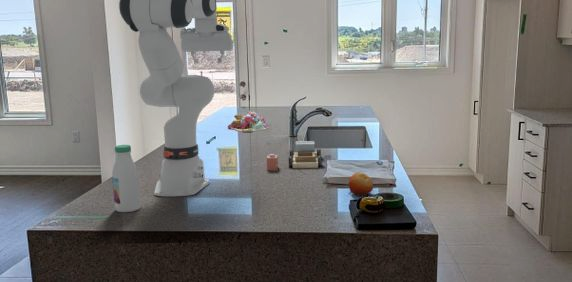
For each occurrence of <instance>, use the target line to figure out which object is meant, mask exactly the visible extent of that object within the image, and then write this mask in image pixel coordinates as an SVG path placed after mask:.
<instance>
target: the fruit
mask: <svg viewBox="0 0 572 282" xmlns="http://www.w3.org/2000/svg"><path fill="white" fill-rule="evenodd" d="M348 188H349V192H348V195H349V194H353V195H355V196H358V195H359V197H365V196H366V195H368V194H370V193H371V192H372V191H373V189H374V183H373V180H372V178H370V176H368V175H367V174H365V173H361V172H356V173H354V174H352V175H351V176H350V178H349V180H348Z"/></svg>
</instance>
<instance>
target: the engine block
mask: <svg viewBox="0 0 572 282" xmlns="http://www.w3.org/2000/svg"><path fill="white" fill-rule="evenodd" d="M278 167H279V158H278V154H274V153H269V154H268V155H266V171H278V169H279V168H278Z"/></svg>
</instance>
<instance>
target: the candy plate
mask: <svg viewBox="0 0 572 282" xmlns="http://www.w3.org/2000/svg"><path fill="white" fill-rule="evenodd" d="M233 117H234V118H235V120H232V122H231V123H230V124H228V126H227V129H229V130H234V131H236V132H241V133H242V132H247V133H248V132H249V133H250V132H258V131H264V130H267V129H269V126H268V125H267V123H266V120H265V117H264V116H262V115H261V114H258V113H256V111H251V110H248V111H247V113H246V114H245V115H243V114H238V113H237V114H236V113H235V115H233Z"/></svg>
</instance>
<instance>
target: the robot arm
mask: <svg viewBox="0 0 572 282" xmlns="http://www.w3.org/2000/svg"><path fill="white" fill-rule="evenodd" d="M118 4H119V6H118V8H119V14H120V16H121V18H122V19H123V21H124V22H125V24H127V26H129V28H130V30H132V31H133V32H135V33H139V36H138V42H137V43H138V47H139V52H140V55H141V58H142V60H143V62H144V64H145V66H146V68H147V70H148V72H149V76H147V77H145V78H144V79H143V81H141V84H140V87H139V94H140V98H141V99H142V101H143V102H144V104H145V105H147V106H152V107H157V108H176V107H177V108H178V114H175V115H174V116H173V117H171V118H169V119H168V120H166V122H165V123H164V126H163V132H164V133H163V135H164V136H163V137H164V146H163V152H162V156H163V158H164V159H163V160H161V169H160V173H159V180H157V181H156V185H155V189H154V192H153V194H154V196H159V197H186V196H192V195H195V194H197V193H198V192H200V191H201V190H202V189H204V188H205V187H206V186H208V185H209V184H210V182H211V181H210V179H207V178H205V177H206V175H205V168H204V166H205V165H204V160H203V159H202V158H200V156H199V154H200V153H199V145H198V143H197V124H198V119H199V116H200V114H201V112H202V111H203V110H204V109H205V108H206V107H207V106H208V105H209V104H210V103H211V102H212V101H213V99H214V97H215V86H214V84H213V81H212V80H211V79H210V77H208V76H203V75H197V74H183V73H184V71H185V66H184V65H185V64H184V62H183V60H182V56H181V54H180V52H179V50H178V47H177V44H176V43H175V41H174V39H173V38H172V36H171V35H170V33H169V32H168V30H167V29H168V28H170V29H172V28H176V29H181V28H183V29H181V30H180V36H179V37H180V39H181V42H180V43H181V51H182V52H183V53H190V56H191V58H192V59H193V63H194V64H199V58H197V57H196V56H195V55H196V52H219V54H221V55H220V57H219V58H218V57H217V63H218V64H219V63H220V64H222V63H223V57H224V56H225V51H226V52H228V51H229V52H230V51H232V50H233V48H234V43H233V39H232V38H233V37H232V35H231V33H230V32H229V31H230V27H229V26H228V25H224V24H222V23H218V17H217V0H119V2H118ZM193 19H194V27H190V28H189V27H188V26H189V25H190V24H191V23H192V20H193Z"/></svg>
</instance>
